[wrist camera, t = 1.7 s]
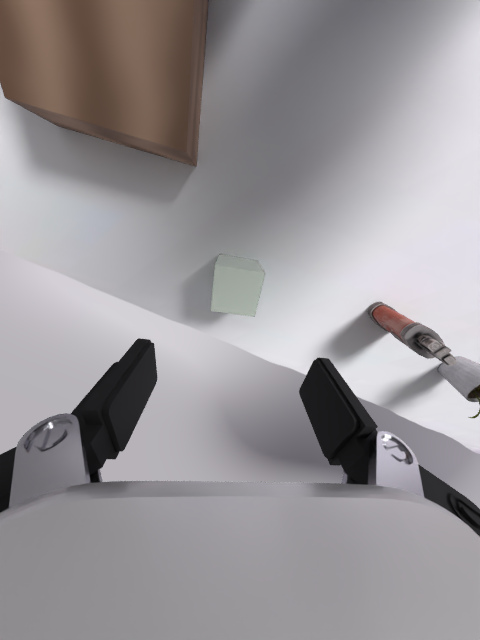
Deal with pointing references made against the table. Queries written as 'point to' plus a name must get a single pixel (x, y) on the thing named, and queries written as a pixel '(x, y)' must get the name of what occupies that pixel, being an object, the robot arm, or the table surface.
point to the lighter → (411, 333)
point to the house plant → (463, 378)
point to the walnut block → (109, 68)
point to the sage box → (236, 285)
